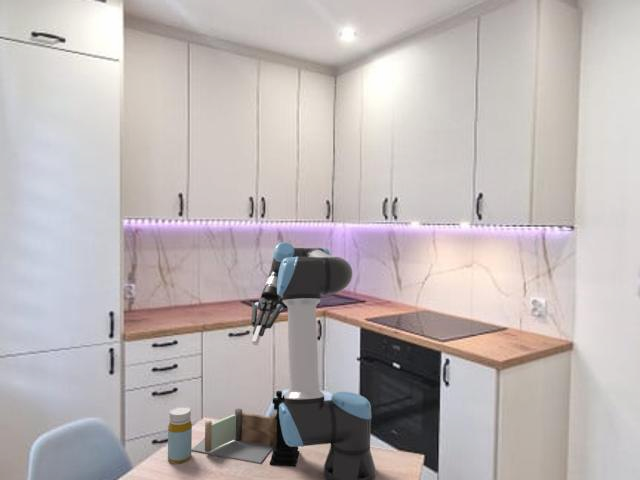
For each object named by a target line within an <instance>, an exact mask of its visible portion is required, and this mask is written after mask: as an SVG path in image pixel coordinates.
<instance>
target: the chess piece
mask: <svg viewBox="0 0 640 480" xmlns="http://www.w3.org/2000/svg"><path fill="white" fill-rule="evenodd" d="M275 396H276V397H273V398H272V404H273V410H276V413H275V414H276V416H275V419H276V420H277V433H276V445H275V447H274V448H273V449H272V455H271V459H270V461H269V466H280V467H292V468H293V467H295V468H297V463H298V460H299V456H300V452H301V451H300V450H299V446H297V447H290V446H288V445H287V444H286V443H285V441H284V438H283V435H282V430H281V425H280V418H279V405H280V404H282V403H284V396H285V395H283V391H282V390H277V391H276V393H275Z"/></svg>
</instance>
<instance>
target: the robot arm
mask: <svg viewBox="0 0 640 480" xmlns="http://www.w3.org/2000/svg"><path fill="white" fill-rule="evenodd" d="M352 279H353V269H352V266H351V264H350V263H349V262H348V261H347V260H345V259H344V258H341V257H338V256H334V257H333V256H332V255H331V253H330V251H329V249H328V248H324V247H294V245H293V244H291V243H288V242H287V241H283V242H280V243H278V244H277V245H276V246H275V248H274V251H273V257H272V262H271V266H270V270H269V274H268V276H267V279H266V282H265V283H264V284H265V285H264V287H263V290H262V292H261V296H260V298H259V299H258V301H256V302H252V301H251V306H252V308H251V311H252V312H251V317H250V318H251V321H250V323H251V325H252V328H253V331H252V334H253V336H252V339H251V342H252V344H253V345H254V346H259V344H260V343H259V342H260V340H261V337H263V336H264V334H265V332H266V330H267V329H272V327H273V325H274V324H275V322H276V321H277V318H278V317H279V316H280V314H281V313H282V312H283V311H284V306H283V304H284V305H285V306H286V307H287V329H288V332H287V333H288V334H287V335H288V336H287V337H288V338H287V339H288V340H287V342H288V384H289V386H288V387H289V389H288V391H287V393H286V394H285V395H284V403H282V404H280V405H279V418H280V425H281V430H282V435H283V438H284V441H285V443H286V444H287V445H288V446H290V447H301V448H303V447H308V446H316V445H319V446H320V445H329V444H330V447H329V450H328V454H327V456H326V459H325V461H324V465H323V476H324V478H325V479H326V480H376V465H375V461H374V459H373V456H372V452H371V434H372V433H371V432H372V431H371V430H372V428H371V427H372V417H373V416H372V406H371V403H370V401H369V399H367V398H366V397H365V396H362V395H361V394H358V393H354V392H351V391H336V392H334V393H333V394H331V397H330V398H331V399H330V400H329V399H328V400H325V394H324V393H323V392H322V391H321V389H320V383H319V381H320V380H319V358H318V357H319V356H318V353H319V352H318V332H317V331H318V329H317V305H318V304H319V303H320V302H321V300H322V298H321V295H322V296H323V295H324V296H325V295H326V296H328V295H329V296H330V295H335V294H337V293H340V292H341V291H344V290H345V289H346V288H347V287H348V286H349V284H350V283H351V282H352ZM281 298H282V303H283V304H280V301H281ZM258 309H259V312H258Z"/></svg>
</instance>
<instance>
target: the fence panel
mask: <svg viewBox="0 0 640 480" xmlns="http://www.w3.org/2000/svg"><path fill="white" fill-rule="evenodd" d="M204 423H205V424H204V438H205V452H210V451H211V450H213V449H215V448H217V447H219V446H221V445H223V444H225V443H228V442H230V441H232V440H234V439H236V415H235V413H233V414H231V415H228V416H226V417H224V418H221V419H220V418H219V419H218V420H216V421H213V422H212V421H211V420H207V421H205V422H204Z"/></svg>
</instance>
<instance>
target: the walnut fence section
mask: <svg viewBox="0 0 640 480" xmlns="http://www.w3.org/2000/svg"><path fill="white" fill-rule="evenodd" d="M234 414H235V415H236V439H235V441H240V440H242V441H246V442H251V443H257V444H263V445H269V446H270V447H275V445H276V433H277V420H276V419H275V416H276V414H277V413H271V414H270V415H269V416H266V415H261V414H260V415H258V414H254V413H246V412H243V409H242V408H235V410H234Z"/></svg>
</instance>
